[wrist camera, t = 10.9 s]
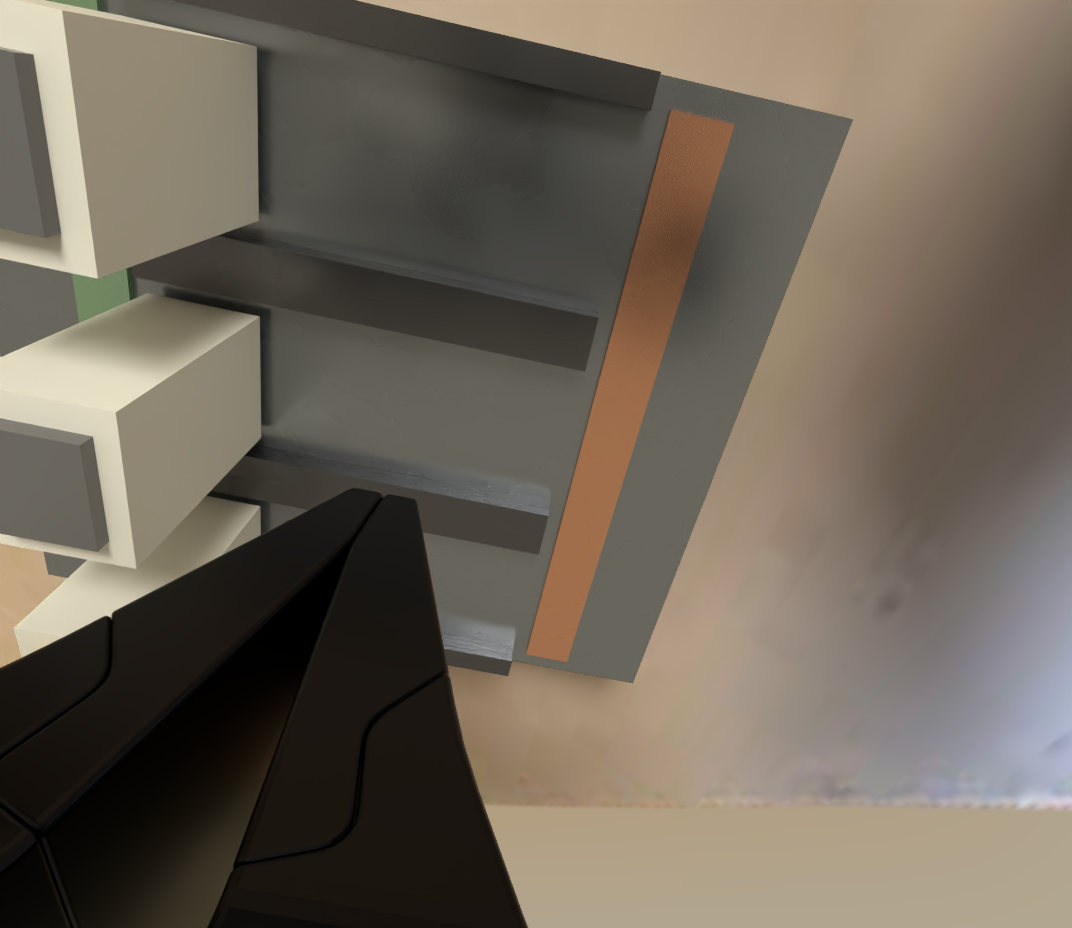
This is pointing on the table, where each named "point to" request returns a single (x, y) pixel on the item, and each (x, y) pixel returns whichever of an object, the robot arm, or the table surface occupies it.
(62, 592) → the block
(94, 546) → the block
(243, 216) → the block
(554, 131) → the breaker panel
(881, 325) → the table surface
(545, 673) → the table surface
